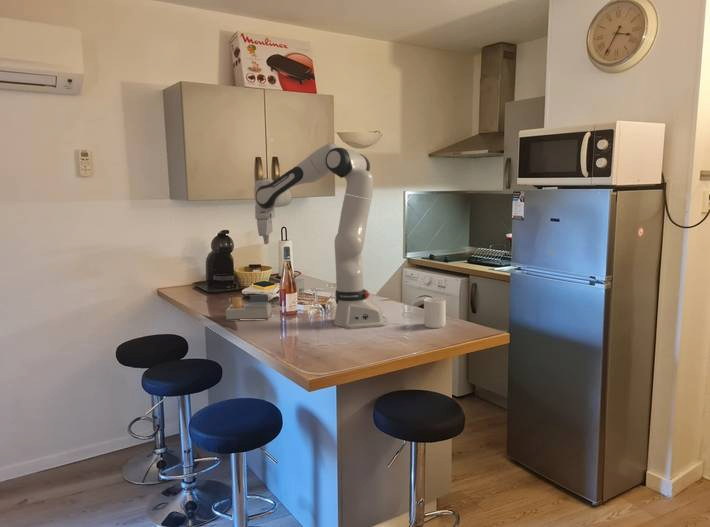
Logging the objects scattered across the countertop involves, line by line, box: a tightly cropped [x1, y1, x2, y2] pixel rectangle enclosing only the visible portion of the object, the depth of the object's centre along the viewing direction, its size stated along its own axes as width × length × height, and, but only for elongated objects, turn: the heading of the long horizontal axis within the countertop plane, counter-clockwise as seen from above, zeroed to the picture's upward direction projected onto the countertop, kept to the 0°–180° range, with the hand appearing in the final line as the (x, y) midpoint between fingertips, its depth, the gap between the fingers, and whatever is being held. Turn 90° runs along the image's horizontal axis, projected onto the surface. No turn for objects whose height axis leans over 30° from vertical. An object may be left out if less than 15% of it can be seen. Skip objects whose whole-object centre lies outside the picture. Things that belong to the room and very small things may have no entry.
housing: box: [225, 302, 272, 321], centre depth 240 cm, size 18×11×6 cm, turn 91°
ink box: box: [294, 278, 305, 294], centre depth 267 cm, size 9×9×12 cm
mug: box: [423, 297, 447, 329], centre depth 219 cm, size 9×12×11 cm
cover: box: [247, 294, 270, 306], centre depth 240 cm, size 8×10×4 cm
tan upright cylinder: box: [231, 296, 243, 308], centre depth 240 cm, size 4×4×8 cm
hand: (266, 243), depth 251 cm, fingers closed
